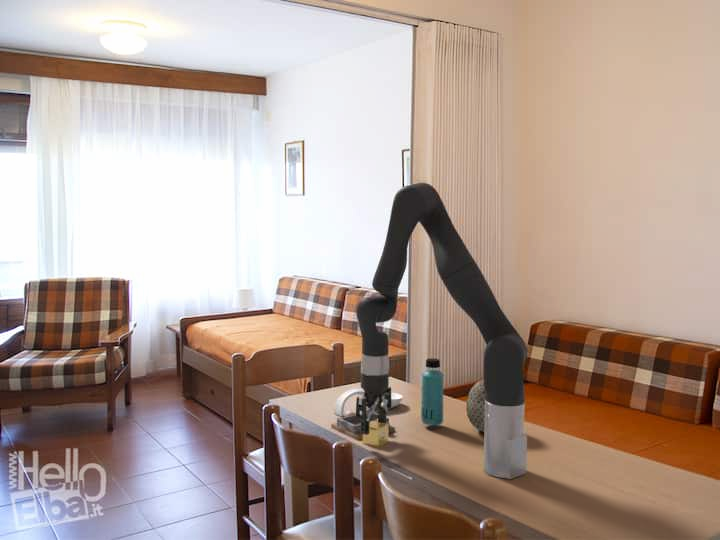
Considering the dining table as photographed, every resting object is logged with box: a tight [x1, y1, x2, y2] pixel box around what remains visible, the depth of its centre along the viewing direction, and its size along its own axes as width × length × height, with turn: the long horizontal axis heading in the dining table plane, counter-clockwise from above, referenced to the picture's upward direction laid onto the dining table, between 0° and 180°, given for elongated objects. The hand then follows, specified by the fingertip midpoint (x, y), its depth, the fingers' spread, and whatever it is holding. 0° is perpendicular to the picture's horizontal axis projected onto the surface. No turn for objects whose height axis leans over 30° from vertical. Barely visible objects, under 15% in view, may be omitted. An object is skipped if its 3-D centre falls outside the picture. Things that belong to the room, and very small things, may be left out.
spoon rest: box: [333, 388, 404, 418], centre depth 207 cm, size 24×12×7 cm, turn 124°
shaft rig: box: [330, 410, 396, 441], centre depth 188 cm, size 15×13×4 cm
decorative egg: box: [465, 379, 485, 433], centre depth 186 cm, size 12×12×15 cm
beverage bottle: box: [420, 357, 445, 426], centre depth 190 cm, size 6×7×20 cm
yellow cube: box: [362, 421, 389, 448], centre depth 178 cm, size 5×5×5 cm
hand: (373, 429), depth 178 cm, fingers open, 8 cm apart
